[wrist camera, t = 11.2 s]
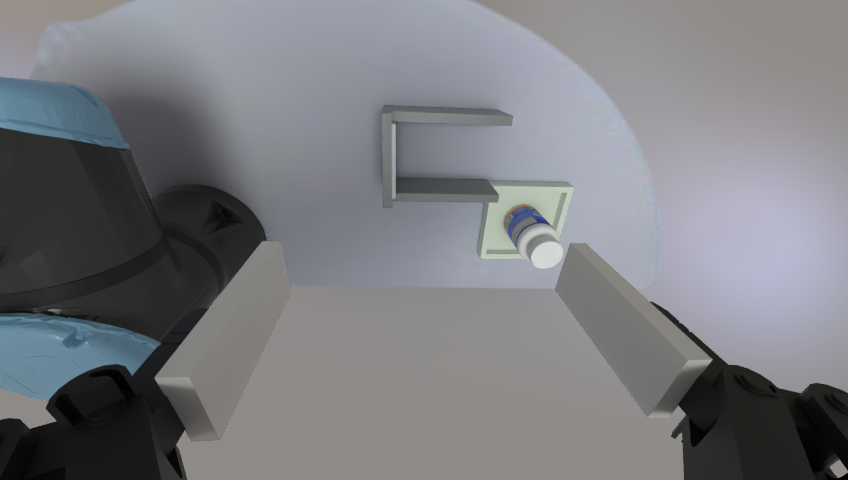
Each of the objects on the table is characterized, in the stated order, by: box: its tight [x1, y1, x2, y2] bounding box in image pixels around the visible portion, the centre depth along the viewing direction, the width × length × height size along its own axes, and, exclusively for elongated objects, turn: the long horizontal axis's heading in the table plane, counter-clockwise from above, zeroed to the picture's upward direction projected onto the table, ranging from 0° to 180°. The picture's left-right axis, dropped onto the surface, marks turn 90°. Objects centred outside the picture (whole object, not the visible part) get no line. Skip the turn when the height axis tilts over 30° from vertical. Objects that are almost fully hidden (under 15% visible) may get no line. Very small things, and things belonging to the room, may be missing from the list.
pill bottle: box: [504, 205, 563, 269], centre depth 41 cm, size 5×5×10 cm
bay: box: [381, 105, 513, 208], centre depth 36 cm, size 14×10×8 cm
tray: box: [477, 181, 574, 259], centre depth 45 cm, size 12×12×2 cm
